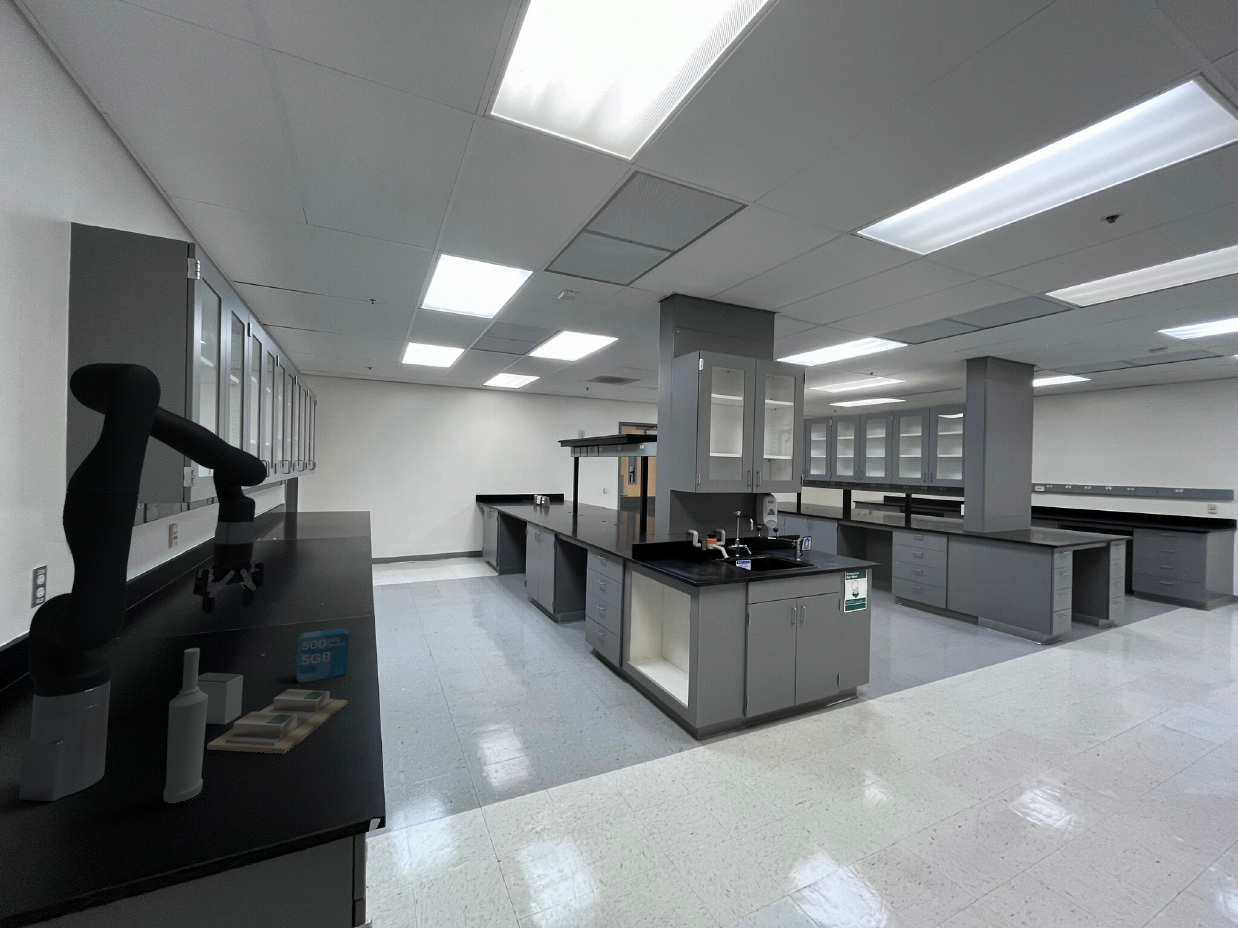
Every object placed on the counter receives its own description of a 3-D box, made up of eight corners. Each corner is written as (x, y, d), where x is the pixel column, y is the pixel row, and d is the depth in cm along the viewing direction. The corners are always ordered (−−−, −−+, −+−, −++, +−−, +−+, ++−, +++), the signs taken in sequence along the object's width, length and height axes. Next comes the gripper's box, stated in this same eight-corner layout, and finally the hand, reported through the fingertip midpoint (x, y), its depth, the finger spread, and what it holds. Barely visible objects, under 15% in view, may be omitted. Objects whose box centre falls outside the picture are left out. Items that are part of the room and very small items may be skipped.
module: (224, 724, 111) (227, 681, 111) (185, 722, 111) (187, 679, 111) (240, 714, 115) (243, 673, 116) (202, 712, 116) (205, 671, 116)
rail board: (284, 753, 100) (286, 732, 100) (207, 749, 101) (208, 727, 101) (347, 704, 122) (348, 686, 122) (283, 700, 123) (284, 682, 123)
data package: (295, 683, 133) (298, 638, 133) (295, 677, 136) (298, 633, 137) (347, 675, 139) (349, 631, 140) (345, 669, 143) (347, 627, 143)
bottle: (210, 786, 89) (218, 645, 90) (186, 806, 84) (195, 655, 85) (180, 786, 89) (189, 644, 90) (154, 805, 84) (163, 654, 85)
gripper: (213, 544, 111) (206, 618, 111) (274, 539, 125) (269, 605, 124) (190, 541, 114) (183, 614, 113) (252, 537, 127) (247, 602, 126)
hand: (228, 609), depth 118 cm, fingers open, 8 cm apart
